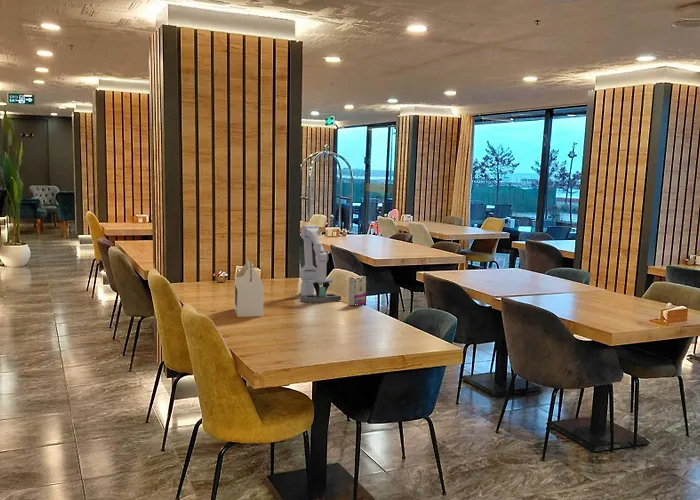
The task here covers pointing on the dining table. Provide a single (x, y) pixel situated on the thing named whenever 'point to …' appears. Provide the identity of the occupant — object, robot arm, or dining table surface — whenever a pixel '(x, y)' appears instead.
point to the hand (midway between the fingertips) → (320, 295)
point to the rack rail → (320, 298)
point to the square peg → (322, 291)
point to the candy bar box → (357, 290)
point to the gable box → (248, 292)
